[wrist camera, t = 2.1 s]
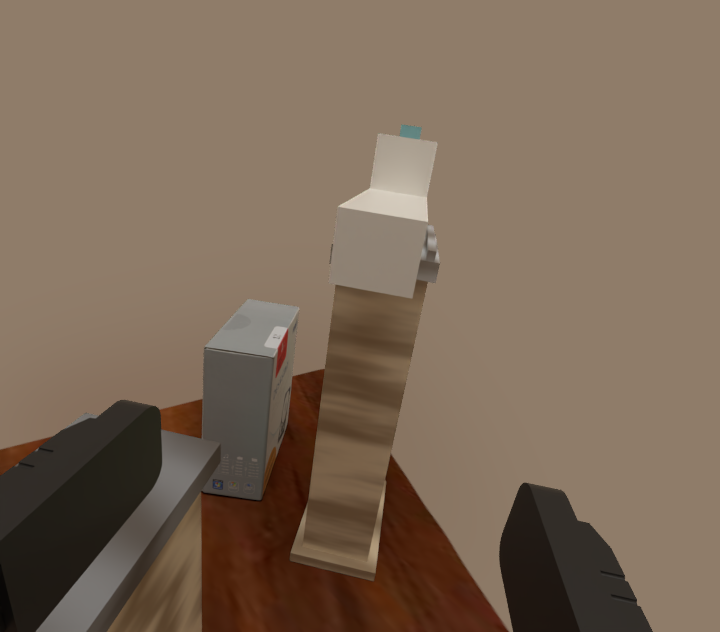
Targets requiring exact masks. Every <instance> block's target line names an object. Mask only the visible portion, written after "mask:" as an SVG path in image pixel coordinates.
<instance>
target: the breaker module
mask: <svg viewBox="0 0 720 632" xmlns="http://www.w3.org/2000/svg"><path fill="white" fill-rule="evenodd" d="M420 135H421V127H415V126H408V125H401V131H400V137H399V136H393V135H386V134H380V133H378V138H377V144H376V151H375V158H374V164H373V171H372V178H371V185H370V189H368V190H366V191H364V192H363V193H361V194H359V195H357V196H356V197H354V198H352V199H350V200H349V201H347V202H345V203H343V204H341V205H340V206H338V208H337V216H336V224H335V232H334V241H333V249H332V258H331V266H330V275H329V283H330V284H335V285H341V286H346V287H352V288H357V289H362V290H368V291H373V292H379V293H384V294H389V295H395V296H400V297H406V298H411V299H412V298H413V293H414V288H415V283H416V279H417V274H418V269H419V264H420V259H421V254H422V249H423V244H424V239H425V235H426V230H427V225H428V212H427V194H428V189H429V184H430V178H431V174H432V169H433V164H434V158H435V153H436V149H437V144H438V142H431V141H425V140H420Z"/></svg>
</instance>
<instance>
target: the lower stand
mask: <svg viewBox="0 0 720 632" xmlns="http://www.w3.org/2000/svg"><path fill="white" fill-rule="evenodd" d="M97 417H98V416H97V415H93V414H88V413H85V414H83V415H82V416H81V417H79V418H78V419H77V420H75V421H74V422H73V423H71V424H70V425H69V426H67V427H66V428H68V427H70V426H72V425H75V424H77V423H79V422H81V421H84V420H86V419H88V418H95V419H96V418H97ZM66 428H65V429H66ZM161 439H162V468H161V472H160V475H159V477H158V480H157V482H156V484H155V486H154V487H153V489H152V490H151V491H150V493H149V494H148V495H147V496H146V498H145V499H144V500H143V501H142V502H141V504H140V505H139V506H138V507H137V509H136V510H135V511H134V512H133V513H132V515H131V516H130V517H129V518H128V520H127V521H126V522H125V523H124V524H123V526H122V527H121V528H120V529H119V531H118V532H117V533H116V534H115V535H114V537H113V538H112V539H111V540H110V541H109V543H108V544H107V545H106V546H105V548H104V549H103V550H102V551H101V552H100V554H99V555H98V556H97V557H96V559H95V560H94V561H93V562H92V563H91V565H90V566H89V567H88V568H87V570H86V571H85V572H84V573H83V574H82V576H81V577H80V578H79V579H78V581H77V582H76V583H75V584H74V585H73V587H72V588H71V589H70V590H69V592H68V593H67V594H66V595H65V596H64V598H63V599H62V600H61V601H60V603H59V604H58V605H57V606H56V607H55V609H54V610H53V611H52V612H51V613H50V615H49V616H48V617H47V618H46V620H45V621H44V622H43V623H42V624H41V626H40V627H39V628H38V629H37V631H36V632H202V579H201V490H202V489H203V488H204V486H205V485H206V483H207V482H208V480H209V479H210V477H211V476H212V474H213V473H214V471H215V470H216V468H217V467H218V465H219V464H220V462H221V443H218V442H214V441H209V440H205V439H200V438H196V437H192V436H187V435H183V434H178V433H174V432H169V431H165V430H161ZM38 449H39V448H38ZM38 449H37V450H36V451H38ZM18 464H19V463H18ZM18 464H17V465H16V466H15V467H17V466H18Z"/></svg>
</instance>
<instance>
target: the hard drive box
mask: <svg viewBox="0 0 720 632" xmlns="http://www.w3.org/2000/svg"><path fill="white" fill-rule="evenodd" d="M298 316H299V307H295V306H289V305H282V304H276V303H270V302H262V301H257V300H250V299H248V300H247V301H246V302H244V303H243V305H242V306H241V307H240V308H239V309H238V310H237V311H236V312H235V314H234V315H233V316H232V317H231V318H230V319H229V320H228V321H227V322H226V324H224V326H223V327H222V328H221V329H220V330H219V331H218V332H217V333H216V334H215V335H214V337H213V338H212V339H211V340H210V341H209V342H208V343H207V345H206V346H205V347H204V363H203V366H204V367H203V413H202V439H205V440H209V441H214V442H218V443H221V462H220V464H219V465H218V467H217V468H216V470H215V471H214V473H213V474H212V476H211V477H210V479H209V480H208V482H207V483H206V485H205V486H204V488H203V489H202V490H201V491H203V492H204V493H211V494H218V495H225V496H232V497H239V498H246V499H253V500H261V499H262V497H263V494H264V491H265V489H266V485H267V483H268V480H269V477H270V474H271V471H272V468H273V465H274V462H275V459H276V456H277V453H278V450H279V448H280V445H281V442H282V439H283V436H284V433H285V430H286V427H287V422H288V413H289V404H290V394H291V383H292V371H293V363H294V354H295V343H296V333H297V324H298Z"/></svg>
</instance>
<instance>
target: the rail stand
mask: <svg viewBox="0 0 720 632" xmlns="http://www.w3.org/2000/svg"><path fill="white" fill-rule="evenodd" d="M332 249H333V244H332V248H331V256H330V264H331V258H332ZM439 265H440V261H439V254H438V248H437V241H436V235H435V234H434V227H433V226H431V225H427V230H426V235H425V239H424V244H423V249H422V254H421V259H420V264H419V269H418V274H417V279H416V283H415V288H414V293H413V298H412V299H411V298H406V297H400V296H395V295H389V294H384V293H379V292H373V291H368V290H362V289H357V288H352V287H346V286H341V285H336V287H335V294H334V302H333V310H332V318H331V326H330V334H329V342H328V350H327V357H326V365H325V373H324V381H323V389H322V396H321V404H320V412H319V420H318V428H317V436H316V444H315V452H314V459H313V467H312V475H311V483H310V491H309V499H308V503H307V506H306V509H305V511H304V514H303V517H302V520H301V523H300V526H299V529H298V532H297V535H296V538H295V541H294V544H293V547H292V550H291V553H290V561H292V562H297V563H301V564H305V565H309V566H313V567H317V568H321V569H325V570H329V571H333V572H338V573H342V574H346V575H350V576H354V577H358V578H362V579H366V580H370V581H374V577H375V573H376V564H377V556H378V547H379V539H380V530H381V522H382V514H383V505H384V497H385V488H386V481H385V477H386V473H387V468H388V463H389V459H390V454H391V449H392V445H393V440H394V435H395V431H396V426H397V422H398V417H399V412H400V408H401V403H402V399H403V394H404V389H405V385H406V380H407V375H408V371H409V366H410V362H411V357H412V352H413V348H414V343H415V338H416V334H417V329H418V324H419V320H420V315H421V311H422V306H423V301H424V297H425V292H426V288H427V283H428V282H432V283H435V282H436V278H437V274H438V269H439Z"/></svg>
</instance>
